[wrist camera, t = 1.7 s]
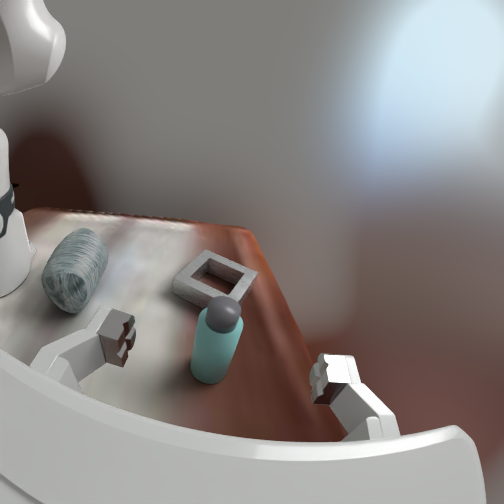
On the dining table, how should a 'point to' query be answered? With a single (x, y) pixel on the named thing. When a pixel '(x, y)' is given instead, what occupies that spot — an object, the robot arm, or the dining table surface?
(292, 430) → the dining table surface
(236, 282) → the housing
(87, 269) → the spool
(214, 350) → the bottle
